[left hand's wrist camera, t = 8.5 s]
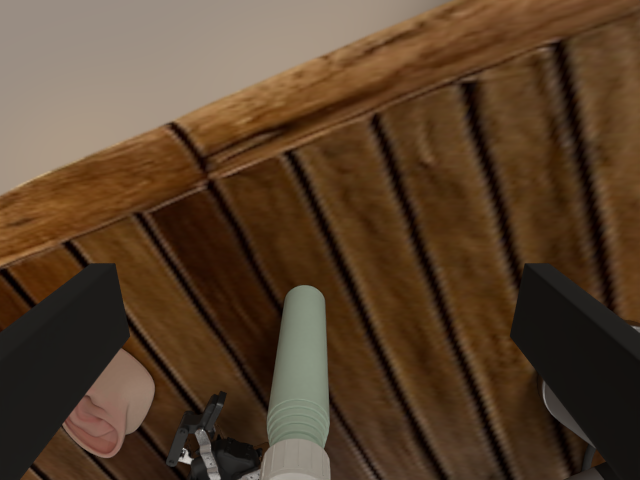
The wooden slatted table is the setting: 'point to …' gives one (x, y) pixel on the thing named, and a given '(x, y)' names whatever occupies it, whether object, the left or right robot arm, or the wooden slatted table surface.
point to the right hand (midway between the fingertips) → (259, 410)
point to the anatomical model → (112, 406)
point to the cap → (295, 461)
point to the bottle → (300, 371)
